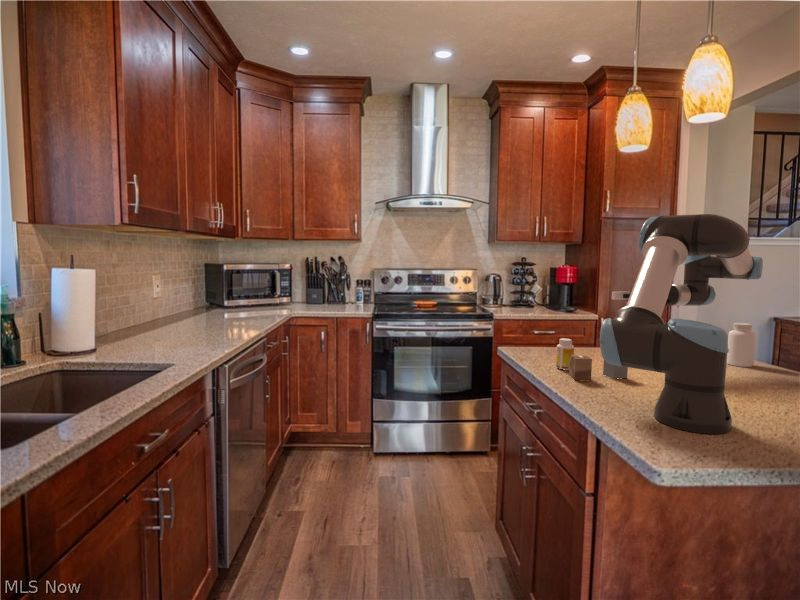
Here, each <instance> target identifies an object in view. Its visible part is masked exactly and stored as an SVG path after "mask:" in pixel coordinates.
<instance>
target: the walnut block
mask: <svg viewBox="0 0 800 600" xmlns="http://www.w3.org/2000/svg"><path fill="white" fill-rule="evenodd" d="M592 364H593V358H591V357H589V356H588V355H586V354H585V355H583V354H582V355H580V354H579V355H577V354H574V355H570V369H569V370H568V372H569V373H568V374H569V375H568V376H571V377H572V378H573V379H574V380H591V381H592V368H593V367H592V366H593V365H592ZM573 379H572V380H573ZM574 380H573V381H574Z"/></svg>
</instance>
